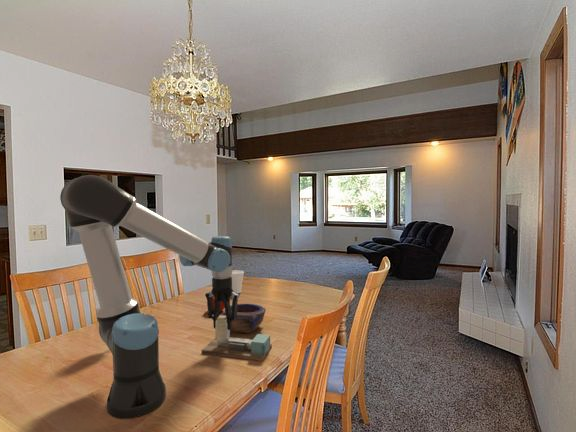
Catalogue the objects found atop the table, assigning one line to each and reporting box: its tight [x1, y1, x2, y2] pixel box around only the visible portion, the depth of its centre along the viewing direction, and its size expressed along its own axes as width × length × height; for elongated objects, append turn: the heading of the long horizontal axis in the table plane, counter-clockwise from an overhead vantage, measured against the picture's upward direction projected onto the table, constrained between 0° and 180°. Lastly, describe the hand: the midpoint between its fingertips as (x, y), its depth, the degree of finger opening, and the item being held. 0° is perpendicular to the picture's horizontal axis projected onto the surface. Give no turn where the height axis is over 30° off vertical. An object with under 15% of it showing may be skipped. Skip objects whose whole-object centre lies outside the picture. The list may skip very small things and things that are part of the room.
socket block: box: [251, 333, 271, 355], centre depth 120 cm, size 7×5×4 cm
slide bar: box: [217, 314, 253, 350], centre depth 122 cm, size 3×17×11 cm, turn 76°
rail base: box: [201, 336, 273, 362], centre depth 122 cm, size 11×24×4 cm, turn 76°
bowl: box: [220, 303, 266, 334], centre depth 142 cm, size 18×18×10 cm
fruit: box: [206, 296, 225, 313], centre depth 166 cm, size 10×10×10 cm
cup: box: [231, 269, 245, 294], centre depth 199 cm, size 10×10×13 cm
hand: (222, 336), depth 123 cm, fingers closed on slide bar, 3 cm apart
